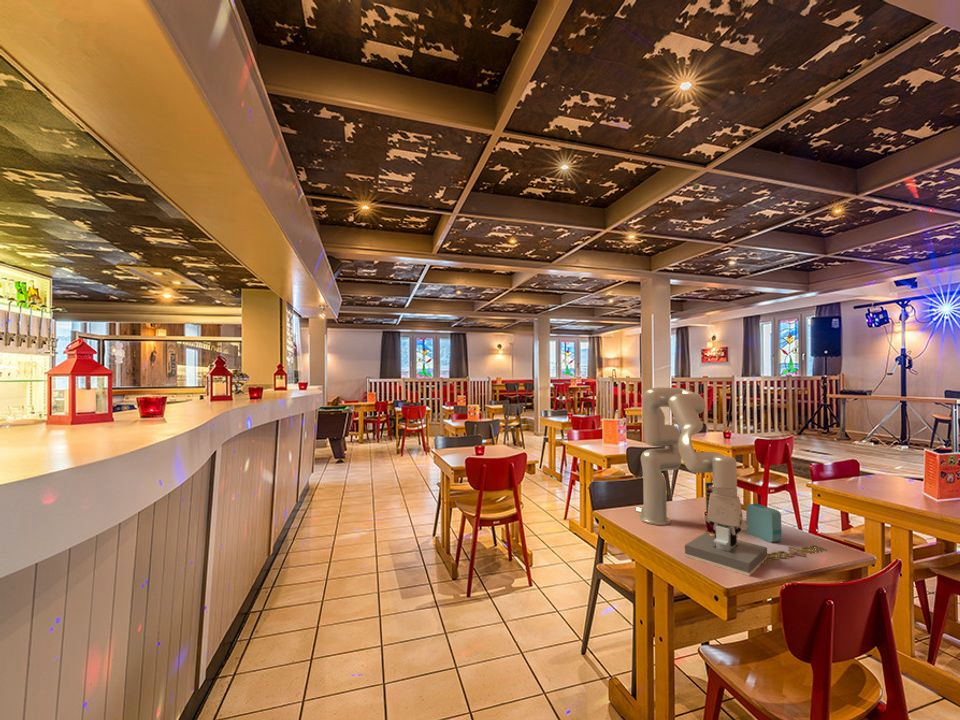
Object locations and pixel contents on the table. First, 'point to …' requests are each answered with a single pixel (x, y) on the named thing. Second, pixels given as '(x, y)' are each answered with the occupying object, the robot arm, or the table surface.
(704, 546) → the chassis
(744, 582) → the table surface
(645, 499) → the robot arm
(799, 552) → the text sign
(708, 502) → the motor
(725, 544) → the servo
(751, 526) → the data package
